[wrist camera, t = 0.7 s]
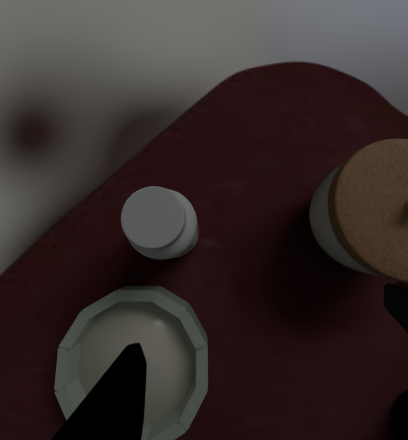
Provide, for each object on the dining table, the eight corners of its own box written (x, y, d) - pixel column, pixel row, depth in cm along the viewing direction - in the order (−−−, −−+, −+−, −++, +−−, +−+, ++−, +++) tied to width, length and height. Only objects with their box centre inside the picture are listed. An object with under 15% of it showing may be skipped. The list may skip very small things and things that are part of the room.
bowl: (207, 430, 20) (208, 455, 18) (67, 431, 20) (47, 456, 18) (206, 285, 22) (207, 289, 20) (79, 286, 22) (63, 290, 20)
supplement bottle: (162, 199, 24) (133, 161, 14) (207, 219, 23) (210, 195, 14) (139, 244, 23) (92, 237, 13) (185, 266, 22) (172, 275, 13)
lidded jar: (304, 281, 22) (377, 300, 13) (282, 182, 24) (332, 136, 15) (405, 264, 22) (546, 271, 13) (376, 168, 24) (483, 114, 15)
